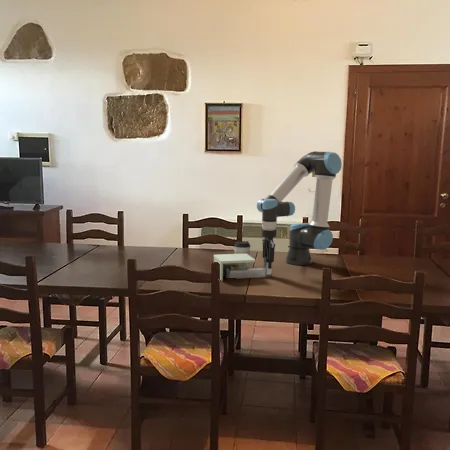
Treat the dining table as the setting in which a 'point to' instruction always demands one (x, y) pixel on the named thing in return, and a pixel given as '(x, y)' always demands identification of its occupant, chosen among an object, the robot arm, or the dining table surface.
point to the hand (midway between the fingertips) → (267, 273)
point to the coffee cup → (242, 248)
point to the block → (234, 267)
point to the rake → (246, 272)
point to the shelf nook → (233, 261)
